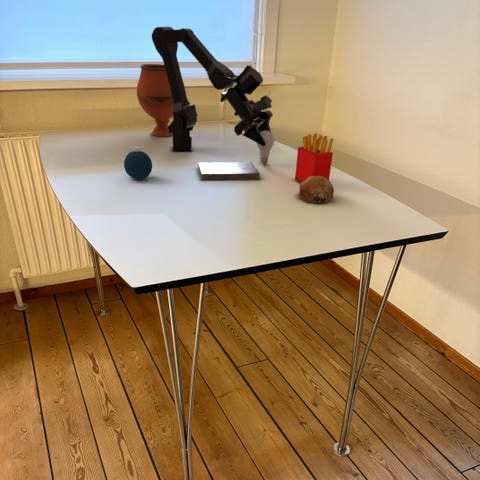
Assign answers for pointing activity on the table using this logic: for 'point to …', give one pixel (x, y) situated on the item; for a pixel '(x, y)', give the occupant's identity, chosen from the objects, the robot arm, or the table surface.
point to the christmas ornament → (138, 164)
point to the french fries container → (313, 158)
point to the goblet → (156, 96)
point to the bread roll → (316, 190)
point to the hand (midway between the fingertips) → (268, 143)
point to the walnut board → (228, 171)
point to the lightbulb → (265, 149)
